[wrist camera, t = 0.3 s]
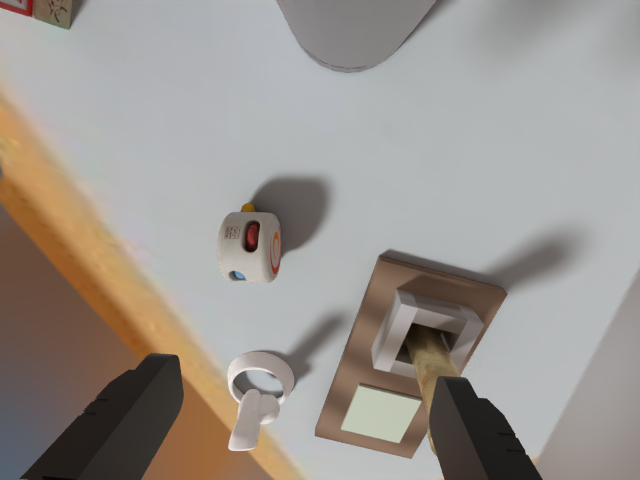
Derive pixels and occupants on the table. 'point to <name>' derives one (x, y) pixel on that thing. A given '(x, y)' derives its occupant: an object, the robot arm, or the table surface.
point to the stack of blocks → (42, 10)
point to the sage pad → (380, 413)
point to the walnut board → (404, 342)
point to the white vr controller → (256, 397)
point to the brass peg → (429, 362)
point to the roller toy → (249, 246)
